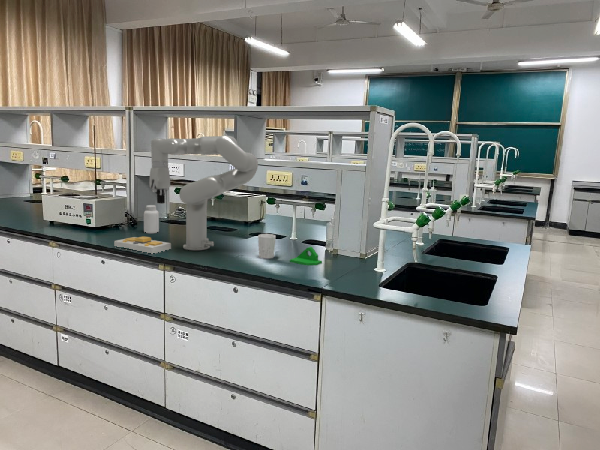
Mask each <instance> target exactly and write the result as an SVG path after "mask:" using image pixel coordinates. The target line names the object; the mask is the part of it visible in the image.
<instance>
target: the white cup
mask: <svg viewBox="0 0 600 450" xmlns="http://www.w3.org/2000/svg"><path fill="white" fill-rule="evenodd" d="M257 236H258V238H257V239H258V241H257V243H258V257H259V258H260V259H268V260H269V259H273V258H274V257H275V249H276V248H275V247H276V238H277V237H276V234H272V233H261V234H258V235H257Z"/></svg>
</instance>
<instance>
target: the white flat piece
mask: <svg viewBox="0 0 600 450" xmlns="http://www.w3.org/2000/svg"><path fill="white" fill-rule="evenodd" d="M133 237H134V238H138V237H137V236H133ZM130 238H132V237H130ZM125 239H126V238H124V239H122V238H121V239H117V240H113V241H114V243H113V245H114V246H117V247H124V248H129V249H133V250H137V251H142V252H141V253H143V252H147V253H146V254H148V253H151V254H150V255H154V254H153V253H155V254H159V253H162V252H161V251H163V252H166V251H165V250H167V251H169V249H171V250H172V243H171V242H165V241H159V240H155V239H154V240H153V239H151V242H152V241H157V242H162V244H160V245H156V246H153V245H149V244H146V243H145V244H141V243H138V242H135V241H134V242H130V241H127V240H125ZM137 251H136V252H137ZM158 252H159V253H158Z"/></svg>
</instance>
